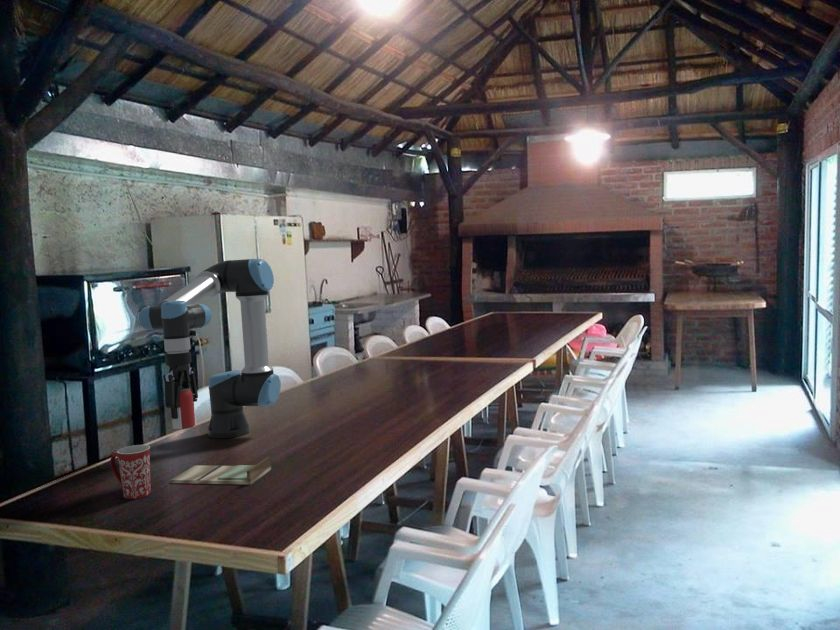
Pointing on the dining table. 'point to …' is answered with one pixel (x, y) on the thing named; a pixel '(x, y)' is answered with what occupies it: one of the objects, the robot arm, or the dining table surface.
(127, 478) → the mug
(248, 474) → the beige green bent panel
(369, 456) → the dining table surface
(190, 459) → the dining table surface
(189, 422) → the beer can
